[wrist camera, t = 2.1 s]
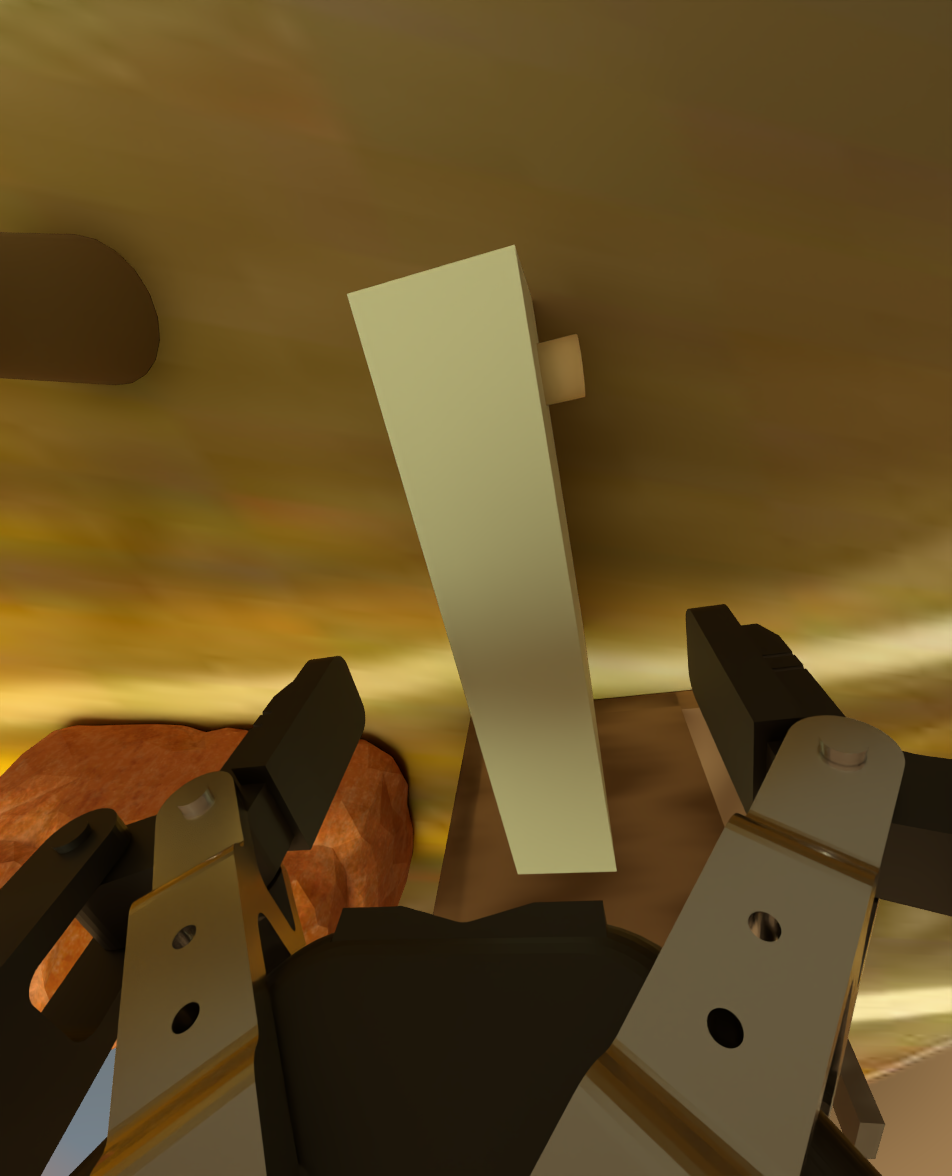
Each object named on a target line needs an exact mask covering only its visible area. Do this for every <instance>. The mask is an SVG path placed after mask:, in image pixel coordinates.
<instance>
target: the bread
mask: <svg viewBox="0 0 952 1176" xmlns="http://www.w3.org/2000/svg"><path fill="white" fill-rule="evenodd" d="M247 733H248V730H241V729H234V728H223V729H218V730H214V731H210V732H204V731H201V730H197V729H194V728H191V727H187V726H183V725H164V724H137V725H102V726H85V725H76V726H72V727H68V728H64V729H60V730H56V731H53V732H52V733H51V734H49V735H48V736H46V737H45V738H44V739H42V740H41V741H40V742H38V743H37V744H35V745H34V746H33V747H31V748H30V749H29V750H27V751H26V752H25V753H23V754H22V755H21V756H20V757H19V758H18V759H17V760H16V761H15V762H14V763H13V764H12V765H11V766H10V767H9V768H8V769H7V770H6V772H5V773H4V774H3V775H2V776H1V777H0V889H1V888H2V887H3V886H4V885H5V884H6V882H7V881H8V880H9V879H10V878H11V877H12V876H13V875H14V874H15V873H16V872H17V871H18V870H19V868H20V867H21V866H22V865H23V864H24V863H25V862H26V861H27V860H28V859H29V858H30V857H31V856H32V854H33V853H34V852H35V851H36V850H37V849H38V848H39V847H40V846H41V845H42V844H43V843H44V842H45V841H46V840H47V839H48V838H49V837H50V836H51V835H52V834H53V833H55V832H56V831H57V830H58V829H60V828H61V827H62V826H64V825H65V824H67V823H68V822H70V821H72V820H73V819H75V818H77V817H79V816H81V815H83V814H85V813H87V812H90V811H93V810H96V809H101V808H111V809H113V810H115V812H116V813H117V814H118V816H119V817H120V818H121V820H122V821H123V822H124V824H125V825H128V824H131V823H133V822H136V821H139V820H142V819H145V818H148V817H151V816H154V815H157V814H158V811H159V810H160V808H161V806H162V805H163V804H164V802H165V801H166V800H167V799H168V798H169V797H170V796H171V795H172V794H173V793H174V792H175V791H176V790H177V789H179V788H180V787H181V786H183V785H184V784H186V783H187V782H189V781H191V780H193V779H194V778H197V777H199V776H201V775H204V774H206V773H210V772H216V771H220V769H221V768H222V767H223V765H224V764H225V762H226V761H227V760H228V758H229V757H230V756H231V754H232V753H233V752H234V750H235V749H236V748H237V746H238V745H239V743H240V742H241V741H242V739H243V738H244V737H245V735H246V734H247ZM407 794H408V784H407V783H406V781H405V779H404V777H403V775H402V773H401V771H400V769H399V767H398V765H397V764H396V762H395V761H394V759H393V757H392V756H390V755H388V754H387V753H385V752H384V751H382V750H380V749H379V748H377V747H376V746H374V745H372V744H371V743H369V742H368V741H366V740H362V739H360V740H359V742H358V744H357V747H356V749H355V751H354V753H353V756H352V758H351V760H350V762H349V765H348V767H347V769H346V771H345V774H344V776H343V778H342V780H341V783H340V785H339V787H338V790H337V792H336V794H335V796H334V799H333V801H332V803H331V805H330V808H329V810H328V812H327V814H326V817H325V819H324V821H323V823H322V826H321V828H320V830H319V832H318V835H317V837H316V839H315V842H314V844H313V846H312V848H311V850H300V851H287V853H286V855H285V857H284V859H283V861H282V862H283V864H284V866H285V868H286V869H287V872H288V876H289V879H290V883H291V887H292V891H293V895H294V899H295V903H296V907H297V911H298V915H299V919H300V922H301V926H302V930H303V934H304V938H305V942H306V945H308V944H310V943H312V942H313V941H315V940H317V939H319V938H322V937H324V936H326V935H328V934H331V933H334V932H335V930H336V927H337V924H338V921H339V918H340V915H341V912H342V909H343V908H356V907H390V906H398V903H399V900H400V898H401V895H402V892H403V890H404V887H405V884H406V881H407V876H408V871H409V867H410V862H411V858H412V853H413V828H412V824H411V819H410V815H409V810H408V806H407ZM92 938H93V937H92V936H91V935H90V933H89V932H88V931H87V930H86V929H85V928H84V927H83V926H82V925H81V924H80V923H79V921H78V920H77V919H76V918H74V920H73V921H72V922H71V924H70V925H69V926H68V928H67V929H66V930H65V932H64V933H63V934H62V936H61V937H60V938H59V940H58V941H57V942H56V944H55V945H54V946H53V948H52V949H51V950H50V952H49V953H48V954H47V956H46V957H45V958H44V960H43V961H42V962H41V964H40V965H39V966H38V968H37V969H36V971H35V973H34V975H33V978H32V980H31V983H30V988H29V998H30V1001H31V1003H32V1005H33V1006H34V1007H35V1008H36V1009H38V1010H39V1011H40V1012H42V1010H43V1009H44V1007H45V1006H46V1004H47V1003H48V1002H49V1000H50V999H51V997H52V996H53V994H54V993H55V992H56V990H57V989H58V987H59V986H60V984H61V983H62V981H63V980H64V979H65V977H66V976H67V974H68V973H69V971H70V970H71V969H72V967H73V966H74V964H75V963H76V961H77V960H78V958H79V957H80V956H81V954H82V953H83V951H84V950H85V948H86V947H87V946H88V944H89V943H90V941H91V940H92ZM116 1043H117V1040H116V1042H115V1043H114V1045H113V1047H112V1049H114V1048H116ZM112 1049H111V1050H112Z"/></svg>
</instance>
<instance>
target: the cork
mask: <svg viewBox="0 0 952 1176" xmlns="http://www.w3.org/2000/svg"><path fill="white" fill-rule="evenodd" d="M159 341H160V339H159V328H158V317H157V314H156V312H155V309H154V306H153V303H152V300H151V297H150V294H149V292H148V291H147V289H146V287H145V286H144V284H143V283H142V281H141V279H140V278H139V276H138V275H137V273H136V271H135V270H134V269H133V268H132V267H131V266H130V265H129V264H128V263H127V262H126V261H125V260H124V259H123V258H122V257H121V256H120V255H119V254H118V253H117V252H116V251H114V250H113V249H111V248H109V247H108V246H106V245H104V244H103V243H101V242H99V241H98V240H96V239H92V238H88V237H84V236H79V235H75V234H41V233H4V232H0V378H7V379H24V380H40V381H57V382H73V383H90V384H106V385H119V384H127V383H133V382H134V381H136V380H137V379H139V378H141V377H142V376H144V375H146V373H147V372H148V370H149V369H150V367H151V366H152V364H153V363H154V361H155V360H156V355H157V350H158V345H159Z"/></svg>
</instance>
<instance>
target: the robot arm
mask: <svg viewBox="0 0 952 1176" xmlns="http://www.w3.org/2000/svg"><path fill="white" fill-rule="evenodd" d="M686 632H687V651H688V669H689V677H690V682H691V687H692V690H693V694H694V696H695V699H696V701H697V704H698V706H699V708H700V710H701V713H702V715H703V717H704V719H705V722H706V724H707V726H708V728H709V731H710V733H711V735H712V737H713V740H714V742H715V744H716V746H717V749H718V751H719V753H720V755H721V758H722V760H723V762H724V765H725V767H726V769H727V771H728V774H729V776H730V778H731V780H732V783H733V785H734V787H735V789H736V792H737V794H738V796H739V798H740V801H741V803H742V805H743V807H744V810H745V812H746V814H747V815H746V816H744V815H741V814H739V813H735V814H734V815H733V816H732V817H731V818H730V819H729V821H728V822H727V824H726V826H725V828H724V830H723V831H722V833H721V835H720V837H719V839H718V841H717V843H716V845H715V847H714V849H713V851H712V853H711V855H710V857H709V859H708V861H707V862H706V864H705V866H704V868H703V870H702V872H701V874H700V876H699V878H698V880H697V882H696V884H695V886H694V888H693V890H692V892H691V893H690V895H689V897H688V899H687V901H686V903H685V905H684V907H683V909H682V911H681V913H680V915H679V917H678V919H677V921H676V922H675V924H674V926H673V928H672V930H671V932H670V934H669V936H668V938H667V940H666V942H665V944H664V946H663V948H662V947H660V946H659V945H657V944H656V943H654V942H652V941H650V940H648V939H646V938H645V937H643V936H641V935H638V934H636V933H633V932H631V931H628V930H626V929H623V928H620V927H616V926H613V925H609V924H607V921H606V915H605V910H604V905H603V900H593V901H559V902H533V903H530V904H526V905H523V906H520V907H516V908H513V909H510V910H506V911H503V912H500V913H496V914H493V915H490V916H486V917H483V918H480V919H476V920H473V921H469V922H457V921H453V920H450V919H446V918H443V917H439V916H436V915H432V914H428V913H425V912H421V911H418V910H414V909H410V908H407V907H403V906H390V907H356V908H343V909H342V912H341V915H340V918H339V921H338V924H337V927H336V930H335V932H334V933H331V934H328V935H326V936H324V937H322V938H319V939H317V940H315V941H313V942H312V943H310V944H308V945H306V942H305V938H304V934H303V930H302V926H301V922H300V919H299V915H298V911H297V907H296V903H295V899H294V895H293V891H292V887H291V883H290V879H289V876H288V872H287V869H286V868H285V866H284V864H283V862H282V861H283V859H284V857H285V855H286V853H287V851H300V850H311V848H312V846H313V844H314V842H315V839H316V837H317V835H318V832H319V830H320V828H321V826H322V823H323V821H324V819H325V817H326V814H327V812H328V810H329V808H330V805H331V803H332V801H333V799H334V796H335V794H336V792H337V790H338V787H339V785H340V783H341V780H342V778H343V776H344V774H345V771H346V769H347V767H348V765H349V762H350V760H351V758H352V756H353V753H354V751H355V749H356V747H357V744H358V742H359V740H360V738H361V735H362V733H363V730H364V726H365V711H364V706H363V703H362V701H361V698H360V696H359V693H358V691H357V688H356V686H355V683H354V681H353V678H352V676H351V673H350V671H349V669H348V666H347V664H346V662H345V660H344V659H343V658H342V657H340V656H334V657H327V658H320V659H313V660H309V661H308V662H307V663H306V664H305V666H304V667H303V668H302V670H301V671H300V673H299V674H298V675H297V677H296V678H295V680H294V681H293V682H291V683H290V684H289V685H287V686H286V687H285V688H284V689H283V690H281V691H280V692H279V693H278V694H277V695H275V696H274V697H273V699H272V700H271V701H270V703H269V704H268V705H267V707H266V708H265V709H264V711H263V715H260V716H259V718H258V719H257V720H256V722H255V723H254V724H253V728H251V729H250V730H249V731H248V733H247V734H246V735H245V737H244V738H243V739H242V741H241V742H240V743H239V745H238V746H237V748H236V749H235V750H234V752H233V753H232V754H231V756H230V757H229V758H228V760H227V761H226V762H225V764H224V765H223V767H222V768H221V769H220V771H216V772H210V773H206V774H204V775H201V776H199V777H197V778H194V779H193V780H191V781H189V782H187V783H186V784H184V785H183V786H181V787H180V788H179V789H177V790H176V791H175V792H174V793H173V794H172V795H171V796H170V797H169V798H168V799H167V800H166V801H165V802H164V804H163V805H162V806H161V808H160V810H159V811H158V814H157V815H154V816H151V817H148V818H145V819H142V820H139V821H136V822H133V823H131V824H128V825H125V824H124V822H123V821H122V820H121V818H120V817H119V816H118V814H117V813H116V812H115V810H113V809H111V808H101V809H96V810H93V811H90V812H87V813H85V814H83V815H81V816H79V817H77V818H75V819H73V820H72V821H70V822H68V823H67V824H65V825H64V826H62V827H61V828H60V829H58V830H57V831H56V832H55V833H53V834H52V835H51V836H50V837H49V838H48V839H47V840H46V841H45V842H44V843H43V844H42V845H41V846H40V847H39V848H38V849H37V850H36V851H35V852H34V853H33V854H32V856H31V857H30V858H29V859H28V860H27V861H26V862H25V863H24V864H23V865H22V866H21V867H20V868H19V870H18V871H17V872H16V873H15V874H14V875H13V876H12V877H11V878H10V879H9V880H8V881H7V882H6V884H5V885H4V886H3V887H2V888H1V889H0V1176H41V1174H42V1172H43V1170H44V1169H45V1167H46V1165H47V1163H48V1162H49V1160H50V1158H51V1156H52V1154H53V1153H54V1151H55V1149H56V1147H57V1145H58V1144H59V1142H60V1140H61V1138H62V1136H63V1135H64V1133H65V1131H66V1129H67V1127H68V1126H69V1124H70V1122H71V1120H72V1119H73V1117H74V1115H75V1113H76V1111H77V1110H78V1108H79V1106H80V1104H81V1102H82V1101H83V1099H84V1097H85V1095H86V1093H87V1092H88V1090H89V1088H90V1086H91V1085H92V1083H93V1081H94V1079H95V1077H96V1076H97V1074H98V1072H99V1070H100V1068H101V1067H102V1065H103V1063H104V1061H105V1059H106V1058H107V1056H108V1054H109V1052H110V1051H111V1049H112V1047H113V1045H114V1043H115V1042H116V1040H117V1043H116V1054H115V1065H114V1076H113V1086H112V1097H111V1106H110V1107H111V1108H110V1117H109V1128H108V1136H107V1137H106V1139H105V1140H104V1141H103V1142H102V1143H101V1144H100V1145H99V1146H98V1147H97V1148H96V1149H95V1150H94V1151H93V1152H92V1153H91V1154H90V1155H89V1156H88V1157H87V1158H86V1159H85V1160H84V1161H83V1162H82V1163H81V1164H80V1165H79V1166H78V1167H77V1168H76V1169H75V1170H74V1171H73V1172H72V1173H71V1174H70V1175H69V1176H882V1175H881V1174H880V1173H879V1172H878V1171H877V1170H876V1169H875V1167H874V1166H873V1165H872V1164H871V1163H870V1162H869V1161H868V1160H867V1159H866V1158H865V1157H864V1156H863V1154H862V1153H861V1152H860V1151H859V1150H858V1149H857V1148H856V1147H855V1146H854V1145H853V1144H852V1143H851V1142H850V1140H849V1139H848V1138H847V1137H846V1136H845V1135H844V1134H843V1133H842V1132H841V1131H840V1130H839V1129H838V1127H837V1126H835V1124H834V1123H833V1122H832V1121H831V1120H830V1119H829V1118H830V1114H831V1110H832V1106H833V1101H834V1097H835V1093H836V1089H837V1084H838V1080H839V1076H840V1072H841V1067H842V1063H843V1058H844V1054H845V1049H846V1045H847V1040H848V1035H849V1030H850V1026H851V1021H852V1016H853V1011H854V1007H855V1003H856V998H857V994H858V990H859V985H860V981H861V977H862V973H863V969H864V964H865V960H866V956H867V952H868V947H869V943H870V939H871V935H872V930H873V926H874V922H875V918H876V913H877V909H878V905H879V901H880V899H883V900H887V901H891V902H895V903H899V904H904V905H908V906H912V907H916V908H920V909H924V910H928V911H932V912H936V913H940V914H944V915H948V916H952V759H945V758H938V757H930V756H923V755H918V754H912V753H908V752H904V751H902V750H901V749H900V747H899V746H898V745H897V743H896V742H895V741H894V740H893V739H891V738H890V737H889V736H888V735H886V734H885V733H884V732H882V731H881V730H879V729H877V728H875V727H873V726H871V725H869V724H866V723H864V722H861V721H858V720H855V719H851V718H846V717H845V716H844V714H843V713H842V712H841V711H840V709H839V708H838V707H837V706H836V705H835V703H834V702H833V701H832V700H831V698H830V697H829V696H828V695H827V694H826V692H825V691H824V690H823V689H822V687H821V686H820V685H819V684H818V683H817V681H816V680H815V679H814V678H813V676H812V675H811V674H810V673H809V672H808V670H807V669H804V667H803V664H802V663H801V662H800V661H799V659H798V658H797V657H796V656H795V655H793V654H792V651H791V650H790V648H789V647H788V646H787V645H786V644H785V642H784V641H783V640H782V639H781V637H780V636H779V635H777V634H775V633H773V632H771V631H770V630H768V629H766V628H764V627H762V626H760V625H759V624H750V625H742V626H741V625H740V624H739V622H738V621H737V619H736V618H735V617H734V615H733V614H732V612H731V611H730V610H729V608H728V607H727V606H726V605H725V604H721V605H714V606H706V607H699V608H692V609H687V611H686ZM74 918H76V919H77V920H78V921H79V923H80V924H81V925H82V926H83V927H84V928H85V929H86V930H87V931H88V932H89V933H90V935H91V936H92V937H93V938H92V940H91V941H90V943H89V944H88V946H87V947H86V948H85V950H84V951H83V953H82V954H81V956H80V957H79V958H78V960H77V961H76V963H75V964H74V966H73V967H72V969H71V970H70V971H69V973H68V974H67V976H66V977H65V979H64V980H63V981H62V983H61V984H60V986H59V987H58V989H57V990H56V992H55V993H54V994H53V996H52V997H51V999H50V1000H49V1002H48V1003H47V1004H46V1006H45V1007H44V1009H43V1010H42V1012H40V1011H39V1010H38V1009H36V1008H35V1007H34V1006H33V1005H32V1003H31V1001H30V998H29V988H30V983H31V980H32V978H33V975H34V973H35V971H36V969H37V968H38V966H39V965H40V964H41V962H42V961H43V960H44V958H45V957H46V956H47V954H48V953H49V952H50V950H51V949H52V948H53V946H54V945H55V944H56V942H57V941H58V940H59V938H60V937H61V936H62V934H63V933H64V932H65V930H66V929H67V928H68V926H69V925H70V924H71V922H72V921H73V920H74Z"/></svg>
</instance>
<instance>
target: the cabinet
mask: <svg viewBox="0 0 952 1176" xmlns="http://www.w3.org/2000/svg"><path fill="white" fill-rule="evenodd" d="M593 701H594V708H595V716H596V723H597V730H598V738H599V745H600V752H601V760H602V767H603V774H604V782H605V789H606V796H607V804H608V811H609V818H610V825H611V833H612V840H613V847H614V855H615V862H616V869H617V871H614V872H580V873H545V874H518V873H517V870H516V866H515V863H514V860H513V856H512V853H511V849H510V846H509V843H508V839H507V836H506V832H505V829H504V826H503V822H502V819H501V815H500V812H499V809H498V805H497V802H496V798H495V795H494V792H493V788H492V785H491V781H490V778H489V775H488V771H487V768H486V764H485V761H484V758H483V754H482V751H481V747H480V744H479V741H478V737H477V734H476V730H475V727H474V724H473V720H472V717H471V718H470V723H469V729H468V734H467V739H466V744H465V750H464V755H463V760H462V765H461V771H460V776H459V781H458V786H457V792H456V797H455V802H454V807H453V812H452V818H451V823H450V828H449V833H448V839H447V844H446V849H445V854H444V860H443V865H442V870H441V875H440V881H439V886H438V891H437V896H436V902H435V907H434V912H433V915H436V916H439V917H443V918H446V919H450V920H453V921H457V922H469V921H473V920H476V919H480V918H483V917H486V916H490V915H493V914H496V913H500V912H503V911H506V910H510V909H513V908H516V907H520V906H523V905H526V904H530V903H533V902H559V901H593V900H603V905H604V910H605V915H606V921H607V924H609V925H613V926H616V927H620V928H623V929H626V930H628V931H631V932H633V933H636V934H638V935H641V936H643V937H645V938H646V939H648V940H650V941H652V942H654V943H656V944H657V945H659V946H660V947H662V948H663V946H664V944H665V942H666V940H667V938H668V936H669V934H670V932H671V930H672V928H673V926H674V924H675V922H676V921H677V919H678V917H679V915H680V913H681V911H682V909H683V907H684V905H685V903H686V901H687V899H688V897H689V895H690V893H691V892H692V890H693V888H694V886H695V884H696V882H697V880H698V878H699V876H700V874H701V872H702V870H703V868H704V866H705V864H706V862H707V861H708V859H709V857H710V855H711V853H712V851H713V849H714V847H715V845H716V843H717V841H718V839H719V837H720V835H721V833H722V831H723V830H724V828H725V826H726V824H727V822H728V821H729V819H730V818H731V817H732V816H733V815H734V814H735V813H739V814H741V815H744V816H746V815H747V814H746V812H745V810H744V807H743V805H742V803H741V801H740V798H739V796H738V794H737V792H736V789H735V787H734V785H733V783H732V780H731V778H730V776H729V774H728V771H727V769H726V767H725V765H724V762H723V760H722V758H721V755H720V753H719V751H718V749H717V746H716V744H715V742H714V740H713V737H712V735H711V733H710V731H709V728H708V726H707V724H706V722H705V719H704V717H703V715H702V713H701V710H700V708H699V706H698V704H697V701H696V699H695V696H694V694H693V690H690V691H680V692H669V693H659V694H649V695H639V696H629V697H619V698H609V699H598V700H593ZM833 1108H834V1110H835V1113H836V1116H837V1118H838V1121H839V1124H840V1126H841V1129H842V1132H843V1134H844V1135H845V1136H846V1137H847V1138H848V1139H849V1140H850V1142H851V1143H852V1144H853V1145H854V1146H855V1147H856V1148H857V1149H858V1150H859V1151H860V1152H861V1153H862V1154H863V1156H864V1157H865V1158H866V1159H875V1158H876V1154H877V1151H878V1147H879V1144H880V1140H881V1136H882V1133H883V1130H884V1126H885V1123H884V1121H883V1118H882V1116H881V1114H880V1111H879V1109H878V1107H877V1105H876V1102H875V1100H874V1097H873V1095H872V1093H871V1091H870V1088H869V1086H868V1084H867V1081H866V1079H865V1077H864V1074H863V1072H862V1070H861V1067H860V1065H859V1063H858V1060H857V1058H856V1056H855V1053H854V1051H853V1049H852V1047H851V1044H850V1042H849V1040H847V1045H846V1049H845V1054H844V1058H843V1063H842V1067H841V1072H840V1076H839V1080H838V1084H837V1089H836V1093H835V1097H834V1101H833Z"/></svg>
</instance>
